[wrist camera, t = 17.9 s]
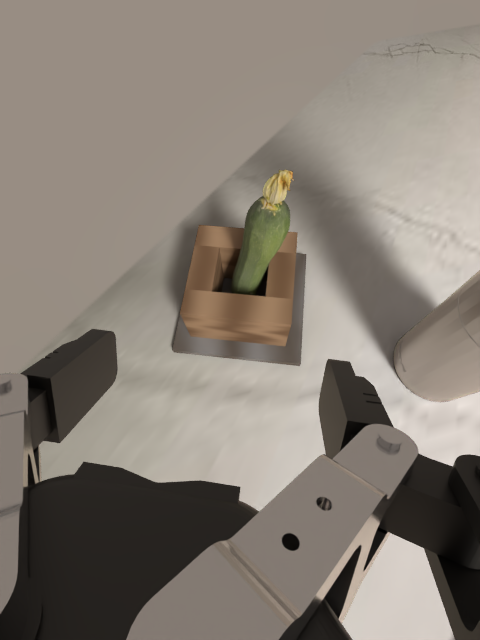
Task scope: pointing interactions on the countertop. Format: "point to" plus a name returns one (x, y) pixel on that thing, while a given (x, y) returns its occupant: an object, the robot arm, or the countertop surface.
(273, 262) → the holder
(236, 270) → the vegetable
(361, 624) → the countertop surface
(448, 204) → the countertop surface
